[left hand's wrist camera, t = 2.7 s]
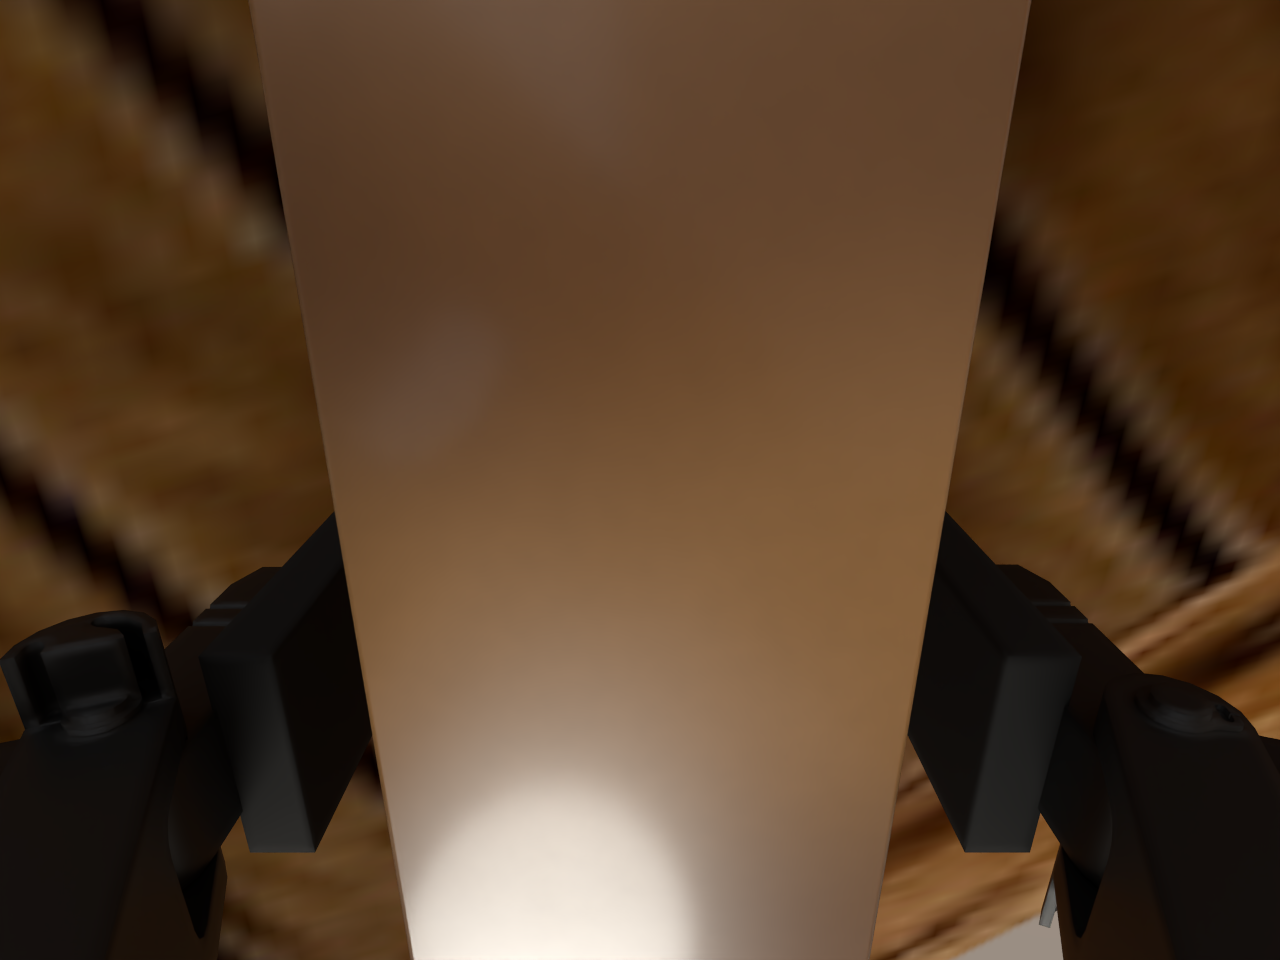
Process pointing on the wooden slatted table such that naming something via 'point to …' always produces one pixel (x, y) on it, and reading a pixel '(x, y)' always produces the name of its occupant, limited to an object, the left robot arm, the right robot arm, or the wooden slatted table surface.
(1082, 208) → the wooden slatted table surface
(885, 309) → the bar
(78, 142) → the wooden slatted table surface
